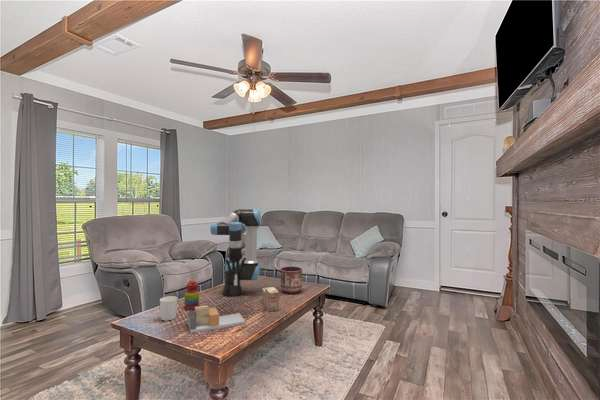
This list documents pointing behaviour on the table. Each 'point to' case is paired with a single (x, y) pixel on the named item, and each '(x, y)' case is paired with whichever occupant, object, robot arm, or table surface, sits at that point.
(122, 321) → the table surface
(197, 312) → the maple block
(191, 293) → the stacking bear
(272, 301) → the stack of blocks
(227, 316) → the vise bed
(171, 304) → the candle holder
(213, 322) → the block
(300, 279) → the pottery
